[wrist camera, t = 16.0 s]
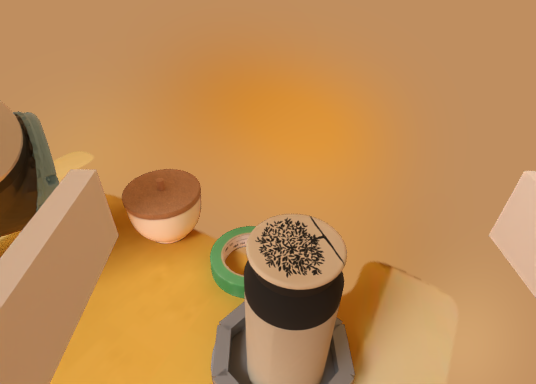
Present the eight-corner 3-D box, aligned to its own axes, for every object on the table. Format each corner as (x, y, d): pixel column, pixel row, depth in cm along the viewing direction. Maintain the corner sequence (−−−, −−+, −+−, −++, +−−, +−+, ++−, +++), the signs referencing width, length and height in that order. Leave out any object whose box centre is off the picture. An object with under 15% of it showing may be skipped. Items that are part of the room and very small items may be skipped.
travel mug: (254, 415, 33) (253, 298, 22) (241, 338, 39) (235, 217, 28) (334, 396, 34) (369, 278, 23) (309, 325, 40) (327, 205, 30)
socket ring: (183, 360, 37) (179, 349, 36) (277, 280, 46) (278, 268, 44) (287, 485, 29) (288, 477, 28) (378, 359, 38) (383, 347, 36)
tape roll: (263, 228, 54) (263, 215, 53) (307, 275, 47) (309, 261, 46) (198, 257, 49) (196, 244, 48) (236, 314, 42) (236, 301, 41)
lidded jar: (183, 199, 59) (175, 151, 54) (218, 232, 53) (214, 182, 47) (122, 226, 54) (106, 177, 48) (154, 267, 47) (139, 215, 42)
